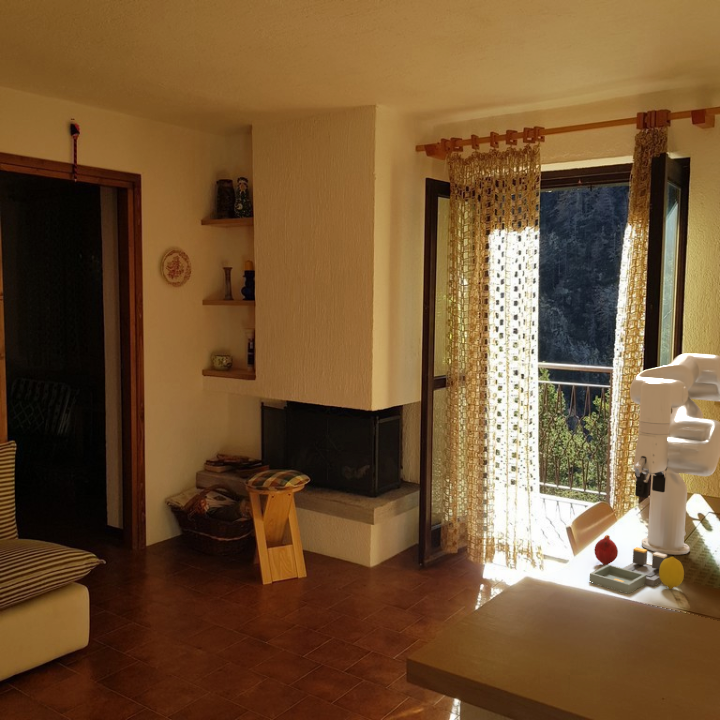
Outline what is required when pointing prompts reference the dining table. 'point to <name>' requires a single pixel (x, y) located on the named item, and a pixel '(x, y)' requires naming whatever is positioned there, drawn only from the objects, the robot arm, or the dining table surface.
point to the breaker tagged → (640, 556)
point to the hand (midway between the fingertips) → (650, 494)
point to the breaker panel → (646, 572)
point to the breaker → (658, 559)
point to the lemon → (671, 572)
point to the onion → (606, 550)
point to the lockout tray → (618, 578)
